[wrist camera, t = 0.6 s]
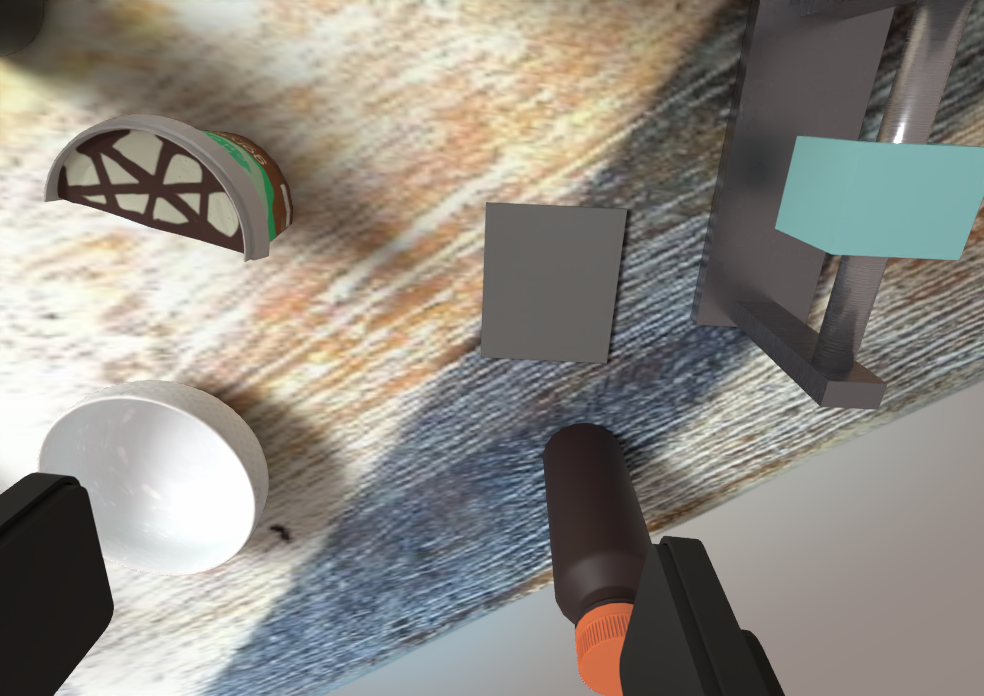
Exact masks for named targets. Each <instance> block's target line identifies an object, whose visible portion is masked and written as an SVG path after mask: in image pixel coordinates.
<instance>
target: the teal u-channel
mask: <svg viewBox="0 0 984 696" xmlns="http://www.w3.org/2000/svg"><path fill="white" fill-rule="evenodd" d="M983 197H984V147H979V146H967V145H955V144H943V143H930V142H927V143H926V144H908V143H885V142H867V141H856V140H845V139H835V138H824V137H810V136H797V139H796V143H795V147H794V151H793V155H792V160H791V164H790V168H789V172H788V176H787V180H786V184H785V189H784V193H783V197H782V201H781V205H780V209H779V214H778V218H777V222H776V226H775V229H777V230H779V231H782V232H784V233H786V234H788V235H790V236H792V237H795V238H797V239H799V240H801V241H803V242H806V243H808V244H810V245H812V246H814V247H817V248H819V249H821V250H823V251H825V252H828V253H830V254H834V255H856V256H878V257H899V258H921V259H943V260H960V257H961V254H962V252H963V249H964V247H965V244H966V241H967V239H968V236H969V233H970V231H971V228H972V226H973V223H974V220H975V218H976V215H977V212H978V210H979V207H980V205H981V202H982V199H983Z"/></svg>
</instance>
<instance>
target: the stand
mask: <svg viewBox="0 0 984 696" xmlns="http://www.w3.org/2000/svg"><path fill="white" fill-rule="evenodd" d="M914 1H917V3H916V6H915V10H914V13H913V16H912V20H911V23H910V27H909V30H908V33H907V37H906V40H905V44H904V47H903V50H902V54H901V57H900V61H899V64H898V67H897V71H896V74H895V78H894V81H893V84H892V88H891V91H890V95H889V98H888V101H887V105H886V108H885V112H884V115H883V118H882V122H881V125H880V129H879V132H878V135H877V139H876V142H885V143H908V144H926V143H927V140H928V137H929V134H930V131H931V128H932V125H933V122H934V119H935V116H936V113H937V110H938V107H939V104H940V100H941V97H942V94H943V91H944V88H945V85H946V82H947V79H948V76H949V73H950V70H951V67H952V64H953V61H954V58H955V55H956V52H957V49H958V46H959V43H960V40H961V37H962V34H963V30H964V27H965V24H966V21H967V18H968V15H969V12H970V9H971V6H972V3H973V0H751V5H750V10H749V15H748V20H747V25H746V31H745V36H744V41H743V46H742V51H741V57H740V62H739V67H738V72H737V77H736V83H735V88H734V93H733V98H732V103H731V109H730V114H729V119H728V124H727V129H726V135H725V140H724V145H723V150H722V155H721V161H720V166H719V171H718V176H717V181H716V186H715V192H714V197H713V202H712V207H711V212H710V218H709V223H708V228H707V233H706V238H705V244H704V249H703V254H702V259H701V264H700V270H699V275H698V280H697V285H696V290H695V296H694V301H693V306H692V311H691V316H690V318H691V319H692V321H693V322H694V323H695V324H696V325H710V326H731V327H739V328H740V329H741V330H742V331H743V332H744V333H745V334H746V335H747V336H748V337H749V338H750V339H751V340H752V341H753V342H754V343H755V344H756V345H757V346H758V347H760V348H761V349H762V350H763V351H764V352H765V353H766V354H767V355H768V356H769V357H770V358H771V359H772V360H773V361H774V362H775V363H776V364H777V365H778V366H779V367H780V368H781V369H782V370H783V371H784V372H785V373H786V374H787V375H788V376H790V377H791V378H792V379H793V380H794V381H795V382H796V383H797V384H798V385H799V386H800V387H801V388H802V389H803V390H804V391H805V392H806V393H807V394H808V395H809V396H810V397H811V398H812V399H813V400H814V401H815V402H816V403H817V404H818V405H819V406H821V407H839V408H859V409H878V408H879V405H880V403H881V400H882V397H883V394H884V392H885V389H886V386H887V383H885V382H884V381H882V380H881V379H880V378H878V377H877V376H876V375H874V374H873V373H872V372H870V371H869V370H867V369H866V368H865V367H863V366H862V365H861V364H859V363H858V362H857V361H855V359H856V356H857V353H858V350H859V347H860V344H861V341H862V338H863V335H864V332H865V329H866V326H867V323H868V320H869V317H870V314H871V311H872V308H873V304H874V301H875V298H876V295H877V292H878V289H879V286H880V283H881V280H882V277H883V274H884V271H885V268H886V265H887V262H888V259H889V257H878V256H856V255H842V258H841V261H840V265H839V268H838V271H837V275H836V278H835V282H834V285H833V288H832V292H831V295H830V299H829V302H828V305H827V309H826V312H825V316H824V319H823V322H822V326H821V329H820V333H817V332H816V331H814V330H813V329H812V328H810V327H809V326H808V325H806V322H807V318H808V315H809V311H810V308H811V304H812V301H813V297H814V294H815V290H816V286H817V283H818V279H819V276H820V272H821V269H822V265H823V262H824V258H825V255H826V252H825V251H823V250H821V249H819V248H817V247H814V246H812V245H810V244H808V243H806V242H803V241H801V240H799V239H797V238H795V237H792V236H790V235H788V234H786V233H784V232H782V231H779V230H777V229H775V226H776V222H777V218H778V214H779V209H780V205H781V201H782V197H783V193H784V189H785V184H786V180H787V176H788V172H789V168H790V164H791V160H792V155H793V151H794V147H795V143H796V139H797V136H810V137H824V138H835V139H845V140H856V141H858V137H859V134H860V130H861V127H862V123H863V120H864V116H865V113H866V109H867V105H868V102H869V98H870V95H871V91H872V88H873V84H874V81H875V77H876V74H877V70H878V66H879V63H880V59H881V56H882V52H883V49H884V45H885V42H886V38H887V34H888V31H889V27H890V24H891V20H892V17H893V13H894V10H895V6H899V5H903V4H907V3H911V2H914Z"/></svg>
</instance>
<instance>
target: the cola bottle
mask: <svg viewBox="0 0 984 696" xmlns="http://www.w3.org/2000/svg"><path fill="white" fill-rule="evenodd" d="M43 15H44V0H0V57H1V56H5V55H8V54H11V53H14V52H16V51H19V50H21V49H22V48H24V47H25V46H27V45H28V44H29V43H30V42H31V41H32V40H33V39H34V38H35V36H36V35H37V33H38V31H39V29H40V27H41V24H42V21H43Z"/></svg>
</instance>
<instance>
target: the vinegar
mask: <svg viewBox="0 0 984 696" xmlns="http://www.w3.org/2000/svg"><path fill="white" fill-rule="evenodd" d="M543 464H544V475H545V486H546V498H547V509H548V520H549V531H550V543H551V554H552V565H553V577H554V588H555V599H556V602H557V604H558V606H559V607H560V609H561V611H562V613H563V615H564V616H566V617H567V618H568V619H569V620H570V621H571V622H572V623H573V624H575V641H576V651H577V659H578V668H579V674H580V676H581V677H582V680H583V682H585V684H587V686H589V687H590V688H592V690H594V691H595V692H598V693H600V694H602V695H605V696H623V693H622V688H621V683H620V674H619V662H620V655H621V651H622V647H623V643H624V640H625V636H626V632H627V628H628V624H629V621H630V617H631V613H632V609H633V605H634V602H635V598H636V594H637V590H638V586H639V583H640V579H641V575H642V571H643V567H644V564H645V560H646V556H647V552H648V549H649V546H650V545H651V544H652V543H651V539H650V536H649V533H648V530H647V527H646V524H645V521H644V518H643V515H642V511H641V508H640V505H639V502H638V499H637V496H636V493H635V490H634V487H633V483H632V480H631V477H630V474H629V471H628V468H627V465H626V462H625V459H624V455H623V452H622V449H621V447H620V445H619V442H618V440H617V439H616V438H615V437H614V436H613V435H612V434H611V433H610V432H609V431H608V430H606V429H604V428H602V427H600V426H598V425H593V424H588V423H583V424H573V425H570V426H568V427H565V428H562V429H561V430H560V431H558V432H557V433H555V434H554V435H553V436H552V437H551V439H550V440H549V441H548V443H547V444H546V447H545V450H544V454H543Z"/></svg>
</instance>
